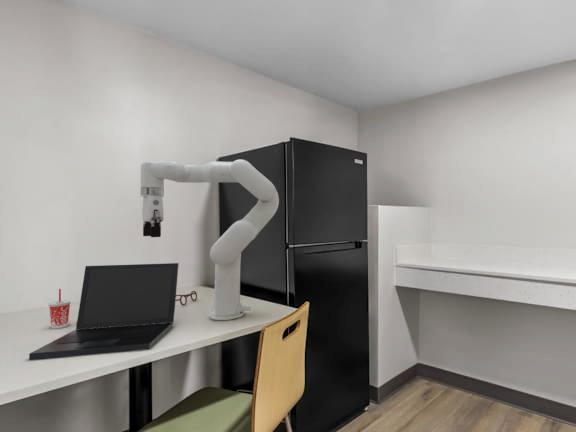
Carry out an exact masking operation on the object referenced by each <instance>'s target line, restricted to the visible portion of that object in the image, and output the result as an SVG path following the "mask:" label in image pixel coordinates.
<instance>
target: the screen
mask: <svg viewBox="0 0 576 432" xmlns="http://www.w3.org/2000/svg"><path fill="white" fill-rule="evenodd" d="M83 275H84V276H83V280H82V287H81V294H80V300H79V307H78V314H77V320H76V325H75V327H76V328H75V330H76V329H89V328H103V327H117V326H131V325H145V324H159V323H174V322H175V311H176V301H175V300H177V296H176V295H177V287H178V277H179V276H178V275H179V263H178V262H174V263H173V262H169V263H167V262H166V263H141V264H139V263H138V264H109V265H105V264H104V265H86V266H85V268H84V273H83Z"/></svg>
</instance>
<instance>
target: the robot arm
mask: <svg viewBox="0 0 576 432" xmlns="http://www.w3.org/2000/svg"><path fill="white" fill-rule="evenodd" d="M164 180H168V181H173V182H176V183H193V184H194V183H197V184H199V183H209V184H210V183H239V184H240V185H241V186H242V187H243V188H244V189H246V191H248V192H249V193H250V194H251V195H253V196H254V197H255V198H256V199H257V203H256V204H255V205H254V206H253V207H252V208H251V209H250V210H249V212H248V213H247V214H246V215H244V217H243V218H242V219H239V220H237V221H235V222H233V223H232V224H231V225H230V226H229V227H228V228H227V230H226V231H225V232H223V234H222V235H221V236H220V237H219V238H218V239H217V240H216V241H215V242H214V244H213V245H212V246H211V247H210V250H209V257H210V260H211V261H212V262H213V263H214V311H213V312H212V313H211V314H210V315H209V316H210V319H211V320H213V321H229V320H235V319H239V318H241V317H243V316H244V315H245V312H252V305H244V304H242V302H241V261H242V252H243V251H244V250H245V249H246V247H247V246H248V245H249V244H250V243H251V242H252V241H253V240H255V239H256V237H257V236H258V235H259V233H260V232H261V231H262V230H263V229H264V228H265V226H266V225H267V224H268V223H269V222H270V221H271V220H272V218H273V217H274V216H275V214H276V212H277V211H278V208H279V205H280V198H279V193H278V191H277V189H276V186H275V185H274V183H273V182H272V181H270V180H269V179H268V178H267V177H266V176H264V174H263V173H261V172H260V171H259V170H258V169H256V167H254V166H253V165H252V163H250V162H249V161H248V160H246V159H239V158H238V159H235V160H234V161H214V160H213V161H212V160H211V161H209V162H207V163H204V164H182V163H181V162H178V161H175V160H165V161H164V160H163V161H156V160H144V161H142V162H141V163H140V197H143V198H142V208H141V209H142V211H141V213H142V215H141V216H142V217H141V218H142V221H143V223H142V224H143V226H142V236H143V237H150V238H161V236H162V222H163V221H164V220H165V219H164V200H163V198H164V197H165V196H164V192H165V191H164V187H165V184H164V183H165V181H164Z"/></svg>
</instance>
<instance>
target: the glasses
mask: <svg viewBox="0 0 576 432" xmlns="http://www.w3.org/2000/svg"><path fill="white" fill-rule="evenodd" d="M193 295H195V298H193ZM176 297H179V298H176V300H175V302H178V301H179V303H180V305H181V306H186V305H187V304H188V298H189V297H190V299H191V301H193V302H195V301H197V299H198V293H197V291H195V290H192V291H191V292H190V293H186V294H176ZM183 297H184V299H185V301H184V303H183V301H182V299H183Z"/></svg>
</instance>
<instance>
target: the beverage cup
mask: <svg viewBox="0 0 576 432" xmlns="http://www.w3.org/2000/svg"><path fill="white" fill-rule="evenodd" d="M61 297H62V289H61V288H59V289H58V300H57V301H52V302H49V303H48V307H49V316H50V317H49V319H50V328H51V329H53V330H54V329H56V330H57V329H62V328H66V327H68V326H69V318H70V307H71V303H72V300H62V299H61Z"/></svg>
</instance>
